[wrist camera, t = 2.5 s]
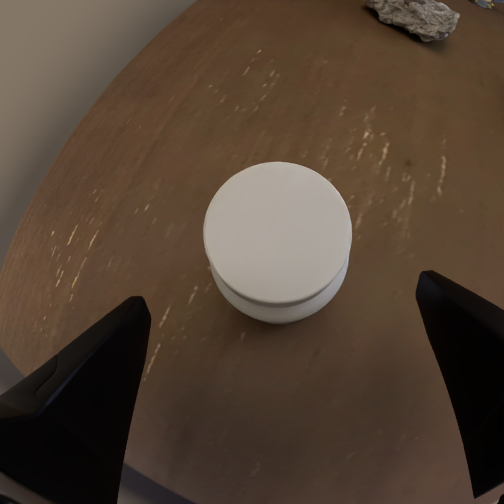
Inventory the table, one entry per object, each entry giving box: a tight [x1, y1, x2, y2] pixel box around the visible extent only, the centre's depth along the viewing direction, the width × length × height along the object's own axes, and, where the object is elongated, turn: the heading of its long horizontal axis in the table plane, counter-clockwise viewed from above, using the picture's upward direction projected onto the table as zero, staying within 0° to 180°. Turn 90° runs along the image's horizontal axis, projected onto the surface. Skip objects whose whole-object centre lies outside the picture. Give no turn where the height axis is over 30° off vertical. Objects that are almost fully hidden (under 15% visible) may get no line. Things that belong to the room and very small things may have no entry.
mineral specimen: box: [366, 0, 460, 42], centre depth 23 cm, size 6×11×12 cm
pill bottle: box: [203, 162, 352, 325], centre depth 14 cm, size 6×6×10 cm
